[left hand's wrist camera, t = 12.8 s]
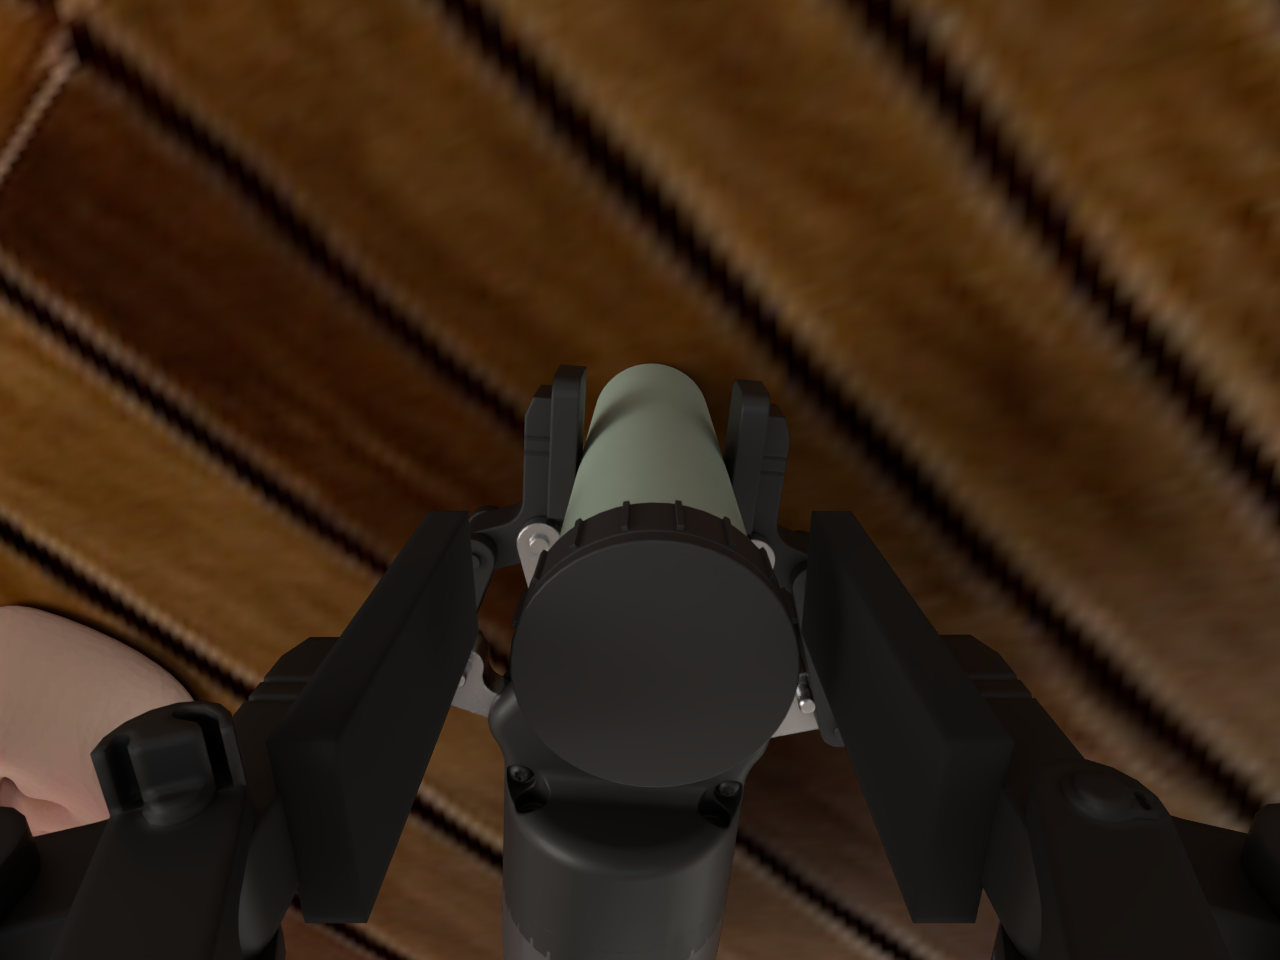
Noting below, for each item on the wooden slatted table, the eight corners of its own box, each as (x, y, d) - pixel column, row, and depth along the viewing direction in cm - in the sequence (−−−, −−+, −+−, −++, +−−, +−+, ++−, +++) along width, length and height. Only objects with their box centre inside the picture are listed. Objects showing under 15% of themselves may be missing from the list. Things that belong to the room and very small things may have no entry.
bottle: (572, 431, 26) (483, 678, 12) (638, 339, 25) (625, 496, 11) (662, 493, 26) (678, 793, 13) (731, 407, 25) (830, 634, 12)
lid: (470, 644, 13) (447, 698, 12) (622, 442, 12) (618, 475, 10) (678, 769, 14) (682, 834, 12) (841, 594, 13) (867, 644, 11)
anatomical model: (-178, 641, 24) (172, 712, 25) (-68, 584, 28) (234, 648, 29) (-132, 922, 29) (164, 974, 29) (-42, 840, 32) (219, 889, 33)
